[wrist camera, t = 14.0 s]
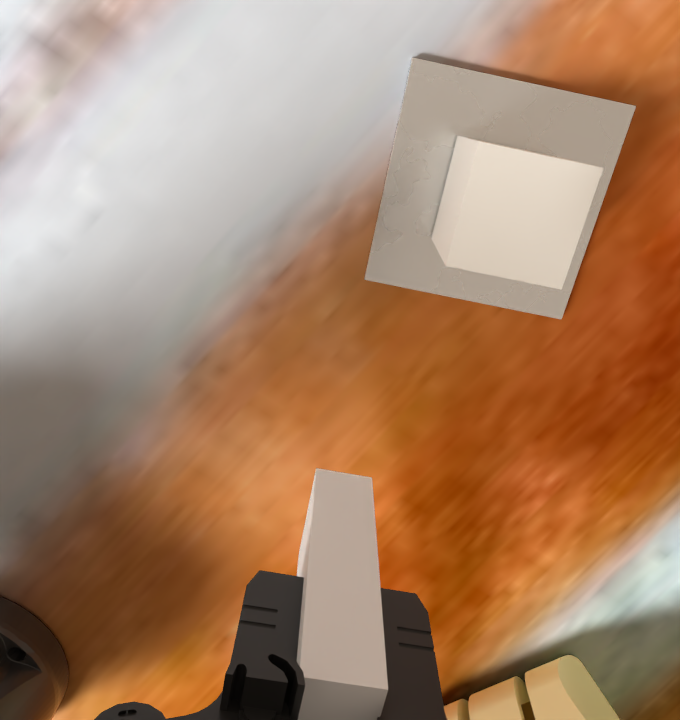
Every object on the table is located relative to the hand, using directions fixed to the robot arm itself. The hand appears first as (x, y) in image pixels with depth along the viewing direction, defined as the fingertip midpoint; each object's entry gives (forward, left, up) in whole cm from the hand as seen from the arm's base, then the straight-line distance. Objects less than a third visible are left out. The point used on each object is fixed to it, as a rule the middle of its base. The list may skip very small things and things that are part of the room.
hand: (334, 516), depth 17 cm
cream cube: (+7, +7, -21) cm, 23 cm away
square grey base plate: (+7, +7, -22) cm, 24 cm away
